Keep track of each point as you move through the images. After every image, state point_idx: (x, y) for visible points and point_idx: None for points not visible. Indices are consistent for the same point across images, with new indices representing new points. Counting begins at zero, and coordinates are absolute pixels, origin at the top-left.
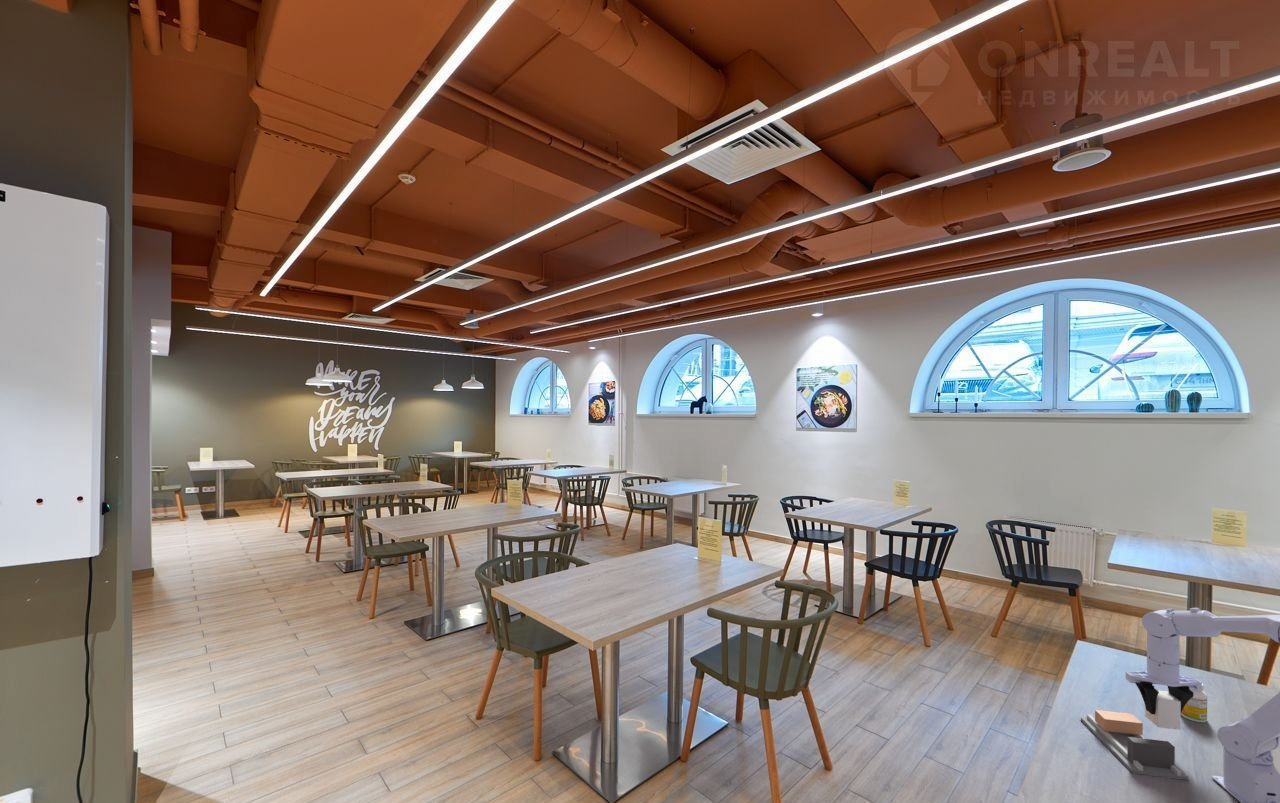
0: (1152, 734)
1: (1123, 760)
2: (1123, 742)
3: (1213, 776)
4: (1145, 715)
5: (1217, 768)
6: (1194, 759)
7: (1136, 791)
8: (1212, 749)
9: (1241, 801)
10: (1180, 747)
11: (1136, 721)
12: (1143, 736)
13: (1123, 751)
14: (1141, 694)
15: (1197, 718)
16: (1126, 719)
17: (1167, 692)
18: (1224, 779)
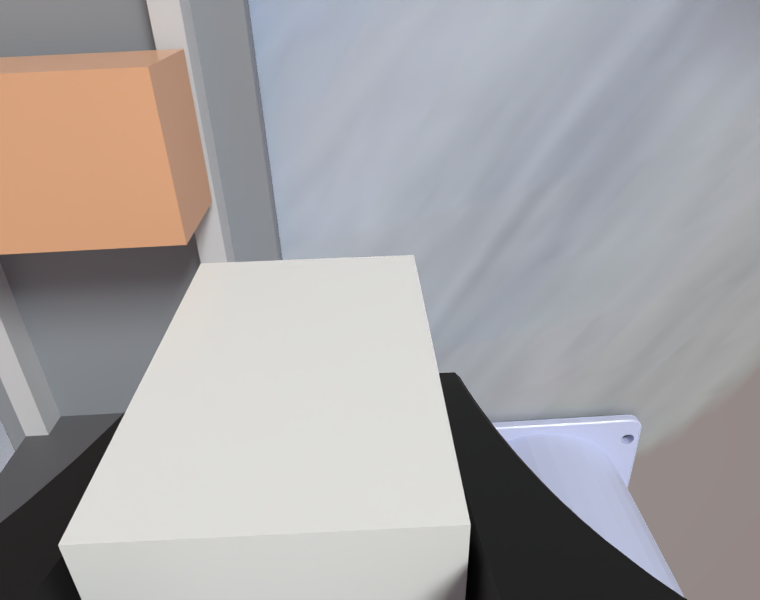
0: (379, 4)
1: (11, 436)
2: (67, 251)
3: None
4: (200, 266)
5: (551, 333)
6: (478, 278)
7: None
8: (714, 119)
9: None
10: (485, 155)
11: (138, 228)
12: (255, 124)
13: (15, 401)
14: (10, 522)
15: None
16: (51, 212)
17: (448, 557)
18: None
